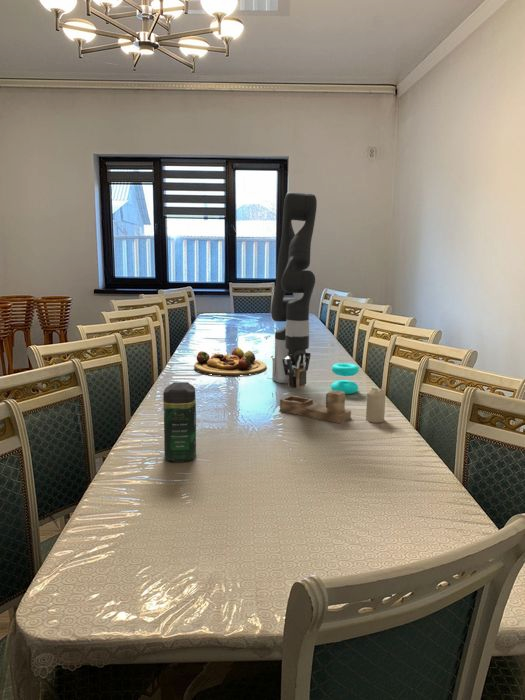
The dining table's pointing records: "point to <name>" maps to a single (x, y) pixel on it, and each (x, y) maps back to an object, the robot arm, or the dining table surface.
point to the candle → (375, 405)
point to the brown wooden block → (300, 378)
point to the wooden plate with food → (229, 363)
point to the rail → (318, 407)
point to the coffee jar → (179, 421)
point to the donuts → (345, 370)
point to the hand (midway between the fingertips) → (296, 385)
